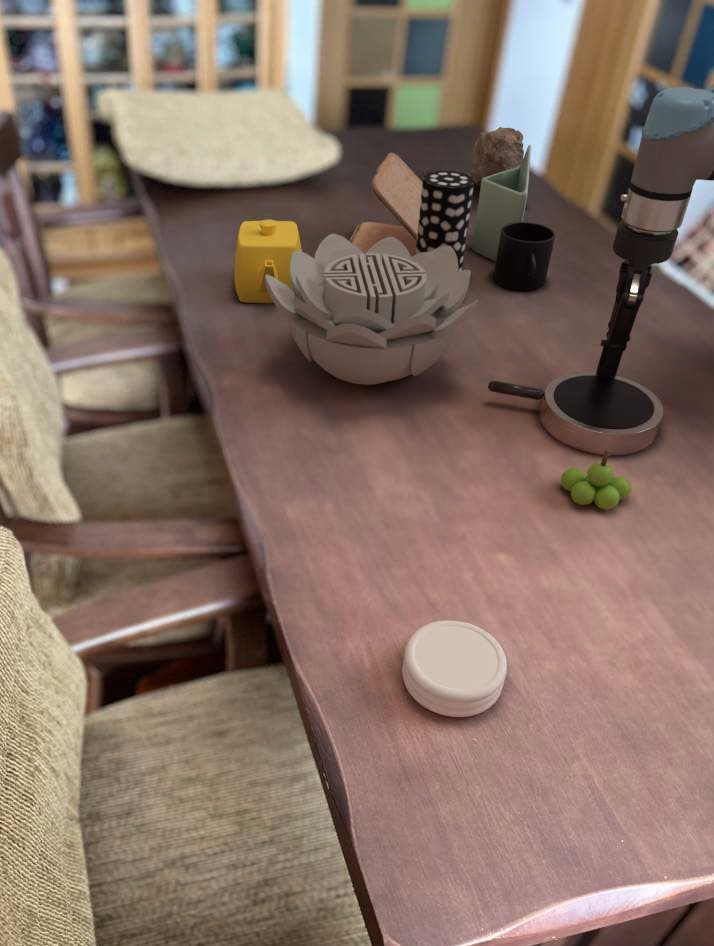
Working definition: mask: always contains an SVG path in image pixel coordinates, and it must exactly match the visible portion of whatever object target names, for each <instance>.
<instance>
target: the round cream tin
mask: <svg viewBox="0 0 714 946" xmlns="http://www.w3.org/2000/svg"><path fill="white" fill-rule="evenodd" d="M507 673H508V662H507V657H506V654H505V651H504V649H503V648H502V646H501V644H500V643H499V642H498V640H497V639H496V638H495V637H493V635H492V634H490V633H489V632H488V631H486V630H484V629H483V628H481V627H480V626H477V625H475V624H471V623H469V622H465V621H461V620H460V621H459V620H449V619H447V620H446V619H445V620H438V621H433V622H430V623H427V624H424V625H423V626H421V627H420V628H418V629H417V630H416V631H414V632H413V634H412V635H411V636H410V637H409V639H408V641H407V642H406V645H405V648H404V654H403V662H402V668H401V674H402V679H403V683H404V686H405V688H406V690H407V691H408V693H409V694H410V696H411V697H412V698H413V700H415V701H416V702H417V703H418V704H419V705H421V706H422V707H423V708H425V709H427V710H428V711H430V712H433V713H435V714H437V715H441V716H446V717H451V718H466V717H467V718H468V717H472V716H476V715H479V714H482V713H484V712H486V711H487V710H488V709H490V708H491V707H492V706H493V705H494V704H495V703H496V702H497V701H498V699H500V696H501V694H502V691H503V687H504V683H505V680H506V677H507Z"/></svg>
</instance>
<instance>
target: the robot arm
mask: <svg viewBox="0 0 714 946" xmlns="http://www.w3.org/2000/svg"><path fill="white" fill-rule="evenodd" d="M699 180H700V181H711V182H712V181H713V182H714V83H712V84H711V85H709V86H708V87H707V88H706V89H701V88H693V87H685V86H680V87H679V86H678V87H677V86H676V87H669V88H665V89H663V90H661V91H659V92H658V93H657V94H656V95H655V96H654V98H653V100H652V102H651V105H650V108H649V110H648V113H647V117H646V120H645V123H644V126H643V128H642V130H641V138H640V142H639V147H638V150H637V153H636V157H635V162H634V166H633V170H632V174H631V178H630V182H629V184H628V189H627V193H622V194H621V196H620V198H619V199H620V202H621V203H624V205H623V207H622V212H621V216H620V217H621V221H620V222H619V223H618V225H617V229H616V231H615V235H614V240H613V244H612V251H613V252H614V254H615V255H616V256H617V257H620V258H621V259H622V260H623V261H621V264H620V266H619V273H618V276H619V277H618V281H617V284H616V290H615V299H614V300H615V301H614V303H613V308H612V310H611V315H610V319H609V322H608V323H607V328H608V330H607V331H606V334H605V336H606V339H601V340H600V344H599V345H600V346H601V347H602V350H601V353H600V356H599V361H598V364H597V368H596V371H595V372H600V373H607V374H612V375H616V376H617V373H618V370H619V367H620V364H621V360H622V357H623V353H624V352H625V351H626V350H627V347H628V342H630V341H631V333H632V330H633V327H634V324H635V321H636V318H637V315H638V312H639V309H640V307H641V305H642V304H643V302H644V299H645V298H644V296H645V293H646V289H647V288H649V286H650V283H651V281H652V276H653V273H652V268H653V265H654V264H657V265H659V264H663V263H666V262H667V261H668V260H669V259H671V257H672V255H673V252H674V249H675V246H676V242H677V239H678V236H679V230H678V229H679V228H681V227H682V226H683V222H684V219H685V217H686V213H687V209H688V207H689V203H690V200H691V197H692V192H693V190H694V186H695V184H696V181H699Z"/></svg>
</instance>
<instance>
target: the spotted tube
mask: <svg viewBox="0 0 714 946" xmlns="http://www.w3.org/2000/svg"><path fill="white" fill-rule="evenodd" d="M422 183H423V184H422V194H421V204H420V214H419V224H418V233H417V243H416V253H415V255H416V254H418V253H422V252H431V251H432V250H434V249H436V248H439V247H442V246H451V247H452V248H453V249H454V251H455V253H456V256H457V260H458V272H460V271H463V266H464V258H465V253H466V252H465V251H466V246H467V245H466V244H467V238H468V230H469V224H470V215H471V210H472V209H471V208H472V202H473V194H474V188H475V180H474V178H473V177H472V175H471V174H468V173H465V172H461V171H457V170H445V169H444V170H434V171H429V172H427V173H425V174H424V175H423V177H422Z"/></svg>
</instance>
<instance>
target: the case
mask: <svg viewBox="0 0 714 946" xmlns="http://www.w3.org/2000/svg"><path fill="white" fill-rule="evenodd" d="M422 184H423V180H421V179H420V178H419V177H418V175H417V174H415V172H414V171H413V170H412V169H411V168H410V167H409V166H408V165H407V164H406V162H404V161H403V159H402V158H401V157H400V156H399V155H398V154H396V153H394V152H388V154H387V155H386V157H385V158H384V160H382V162H381V163H380V164H379V165H378V167H377V168H376V170H375V175H374V177H373V179H372V181H371V185H372V190H373V192H374V194H375V195H376V197H377V198H378V200H380V202H381V203H382V204H383V205H384V206H385V207H386V208H387V209H388V211H389V212H390V213H391V214H392V215H393V216H394V218H395V219H396V220H397V221H398V222H399V223H400V224H391V223H382V222H375V221H363V222H361V223H360V224H359V225H357V227H355V229H354V231H353V233H352V235H351V236H350V239H349V240H348V241H349V242H351V243H352V244H353V245H354V246H356V247H357V248H358V249H360V250H361V251H362V252H363V253H364V254H366V252H367V251H368V250H369V249H370V248H371V247H372V246H373V245H374V244H376V243H377V242H379V241H380V240H382V239H384V238H387V237H394V238H396V239H398V240H399V241H400V242H401V243H402V244H403V245H404V246H405V247H406V249H407V250H408V252H409V254H410V255H411V257H413V256H414V255H415V253H416V243H417V233H418V224H419V214H420V204H421V194H422Z"/></svg>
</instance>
